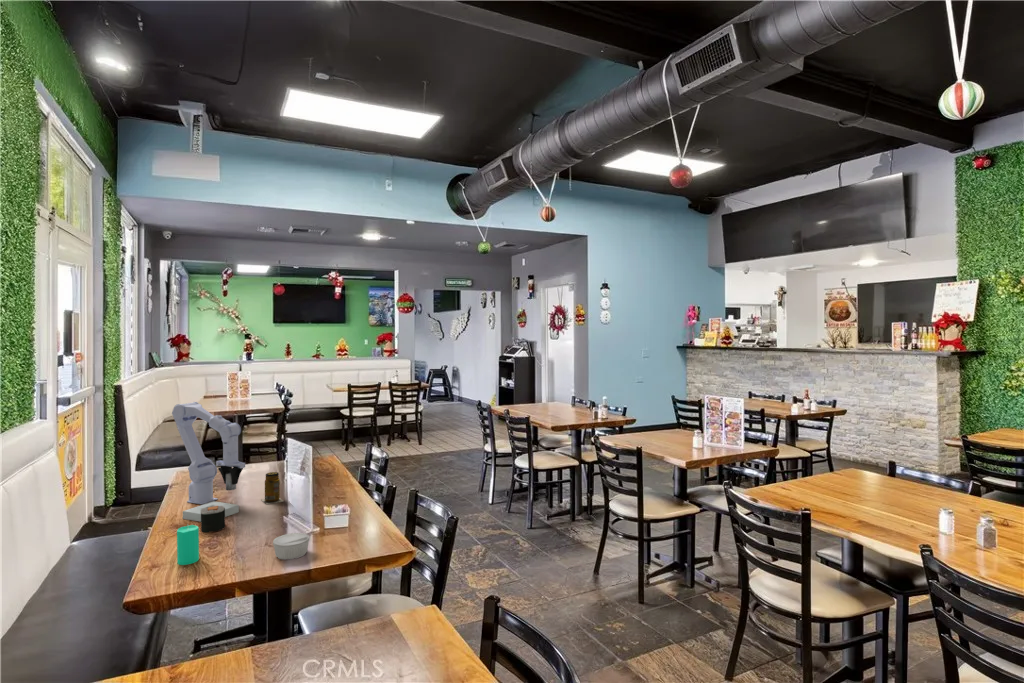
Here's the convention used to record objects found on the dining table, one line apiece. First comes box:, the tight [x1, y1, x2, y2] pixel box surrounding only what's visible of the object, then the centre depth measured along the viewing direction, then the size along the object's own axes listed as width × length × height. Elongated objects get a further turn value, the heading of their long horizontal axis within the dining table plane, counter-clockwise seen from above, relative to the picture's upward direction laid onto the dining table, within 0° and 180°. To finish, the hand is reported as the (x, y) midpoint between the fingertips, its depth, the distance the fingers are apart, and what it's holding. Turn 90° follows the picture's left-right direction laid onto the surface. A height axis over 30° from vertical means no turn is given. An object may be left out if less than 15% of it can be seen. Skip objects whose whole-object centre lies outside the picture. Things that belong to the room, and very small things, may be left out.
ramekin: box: [272, 532, 310, 561], centre depth 181 cm, size 11×11×5 cm
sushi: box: [200, 506, 226, 534], centre depth 206 cm, size 8×8×8 cm
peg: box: [225, 472, 237, 491], centre depth 236 cm, size 4×4×7 cm
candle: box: [176, 524, 200, 566], centre depth 176 cm, size 6×6×12 cm
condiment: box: [261, 471, 284, 505], centre depth 241 cm, size 7×8×12 cm
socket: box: [182, 500, 240, 523], centre depth 221 cm, size 14×14×3 cm
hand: (230, 483), depth 236 cm, fingers closed on peg, 4 cm apart
